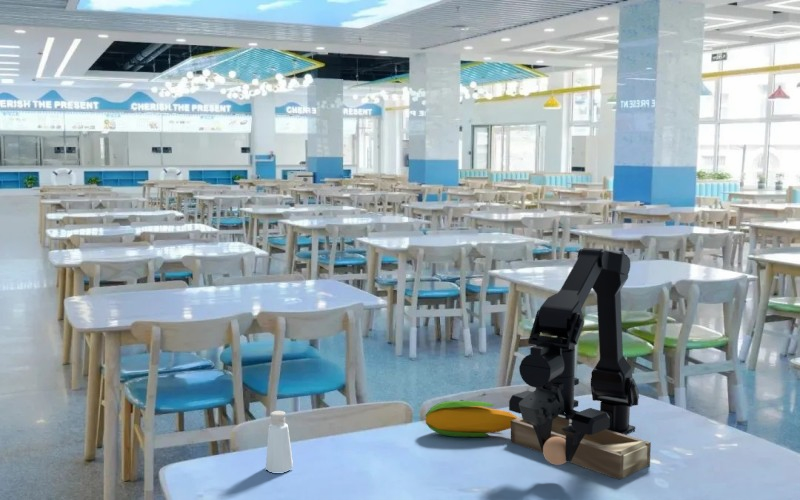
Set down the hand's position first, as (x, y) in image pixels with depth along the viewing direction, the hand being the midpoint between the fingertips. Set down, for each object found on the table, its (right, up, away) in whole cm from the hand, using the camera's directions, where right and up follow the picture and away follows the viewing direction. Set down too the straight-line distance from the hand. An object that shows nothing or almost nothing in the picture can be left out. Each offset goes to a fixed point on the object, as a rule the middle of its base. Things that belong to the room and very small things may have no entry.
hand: (556, 457), depth 149 cm
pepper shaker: (-51, -4, +6) cm, 52 cm away
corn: (-13, -2, +24) cm, 27 cm away
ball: (0, +1, 0) cm, 1 cm away
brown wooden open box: (+7, -2, +13) cm, 15 cm away
